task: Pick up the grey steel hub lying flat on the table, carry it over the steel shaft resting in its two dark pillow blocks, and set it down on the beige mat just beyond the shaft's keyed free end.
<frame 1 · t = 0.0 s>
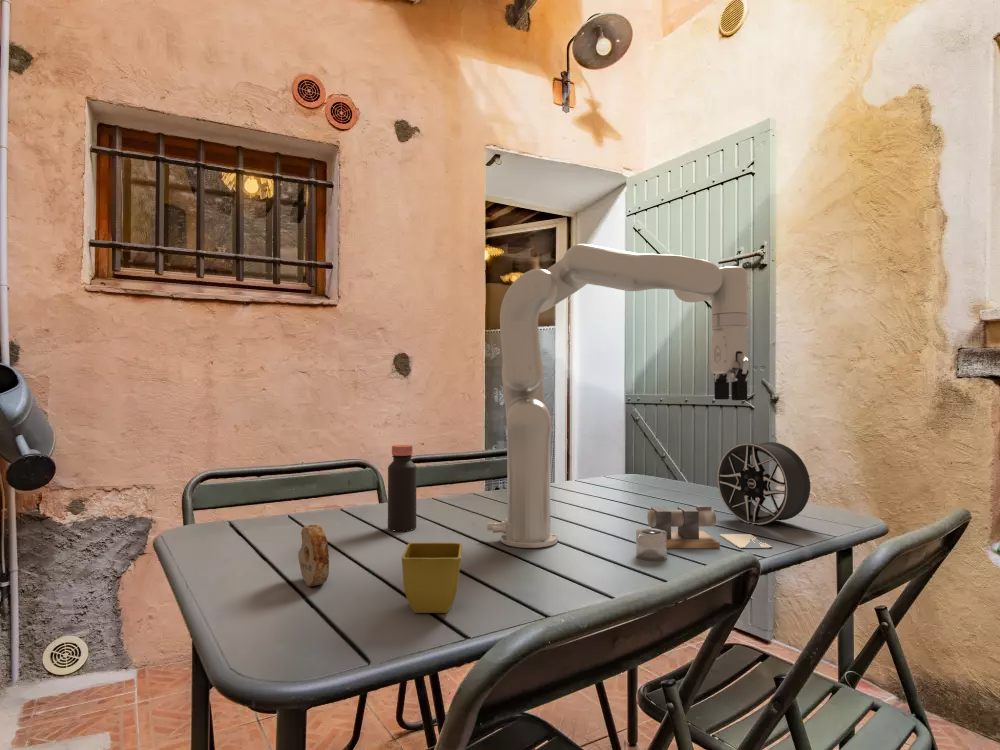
hand: (730, 399, 131), 31 cm above the table, tool pointing down, fingers open, 9 cm apart
wheel rim: (762, 522, 148), on the table
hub: (651, 556, 118), on the table
bottle: (402, 529, 142), on the table
stone disc: (314, 583, 103), on the table
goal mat: (744, 541, 129), on the table
shaft stand: (679, 541, 129), on the table
flower pot: (433, 609, 91), on the table
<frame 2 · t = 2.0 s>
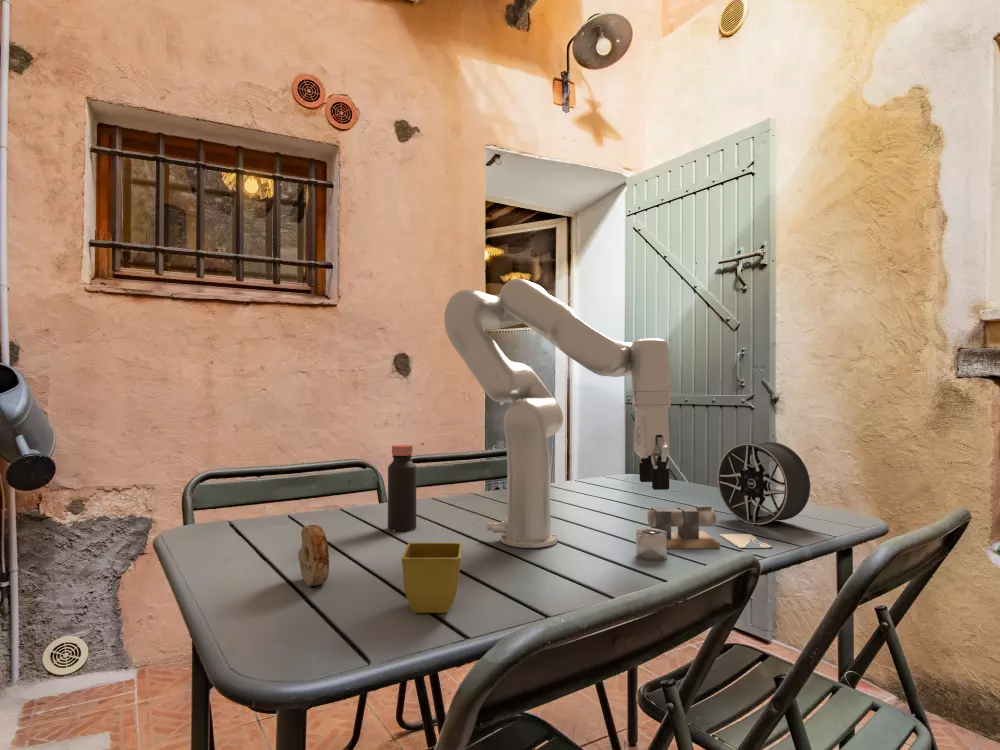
hand: (654, 485, 118), 14 cm above the table, tool pointing down, fingers open, 9 cm apart
nothing on the table moved.
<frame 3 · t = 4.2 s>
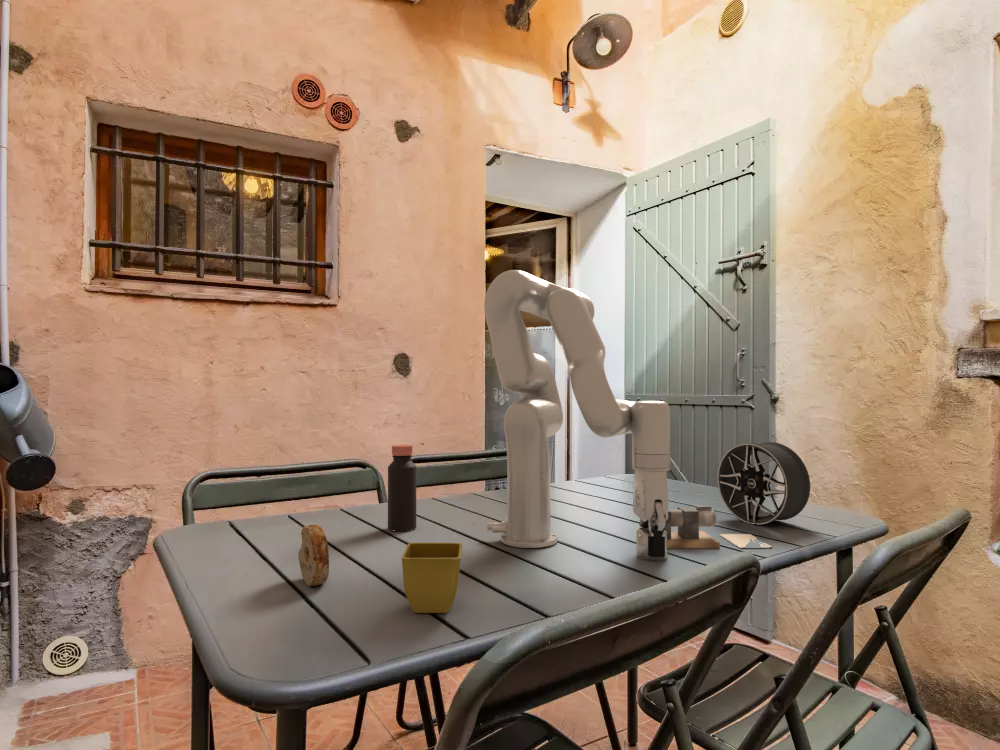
hand: (651, 550, 118), 1 cm above the table, tool pointing down, fingers closed on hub, 6 cm apart
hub: (651, 556, 118), on the table, touching gripper
everything else where it was.
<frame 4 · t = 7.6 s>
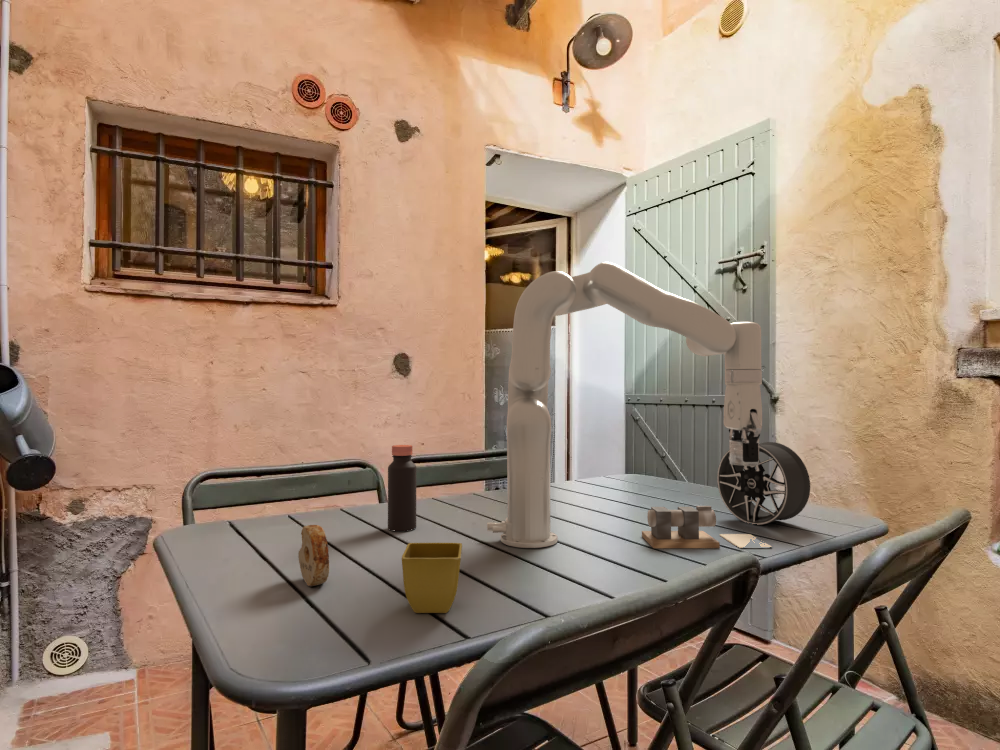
hand: (744, 459, 129), 18 cm above the table, tool pointing down, fingers closed on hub, 6 cm apart
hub: (744, 464, 129), point 17 cm above the table, touching gripper
everything else where it was.
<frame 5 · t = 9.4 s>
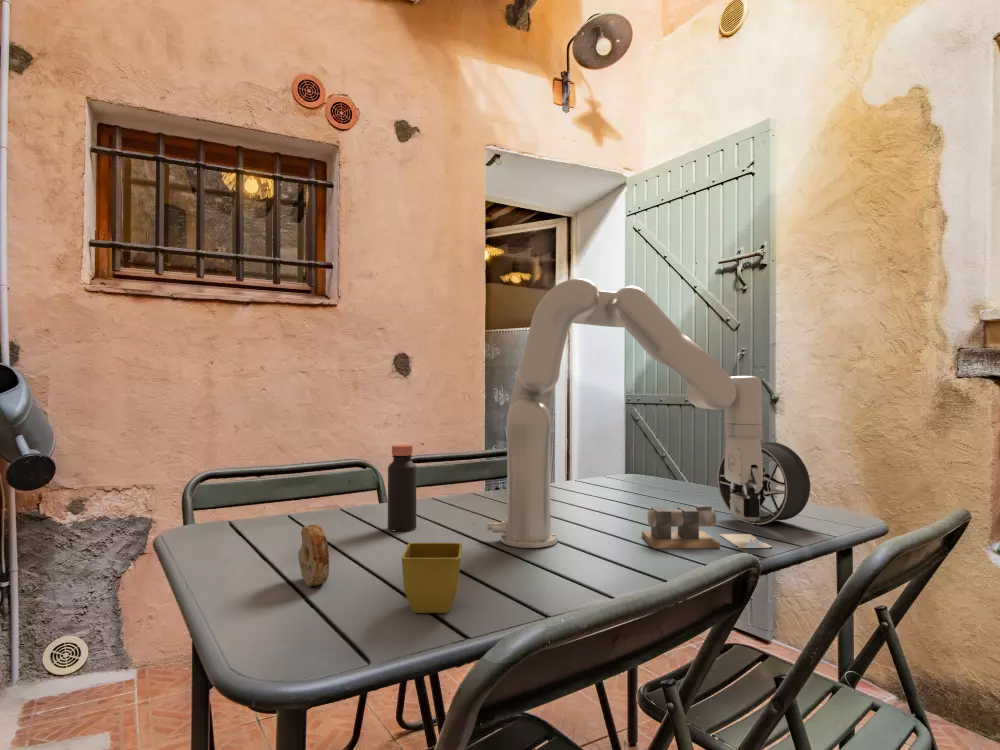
hand: (744, 512, 129), 6 cm above the table, tool pointing down, fingers closed on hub, 6 cm apart
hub: (745, 517, 129), point 5 cm above the table, touching gripper
everything else where it was.
when the fingers open (3 cm above the table, at t = 11.1 s): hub drops 1 cm, resting on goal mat.
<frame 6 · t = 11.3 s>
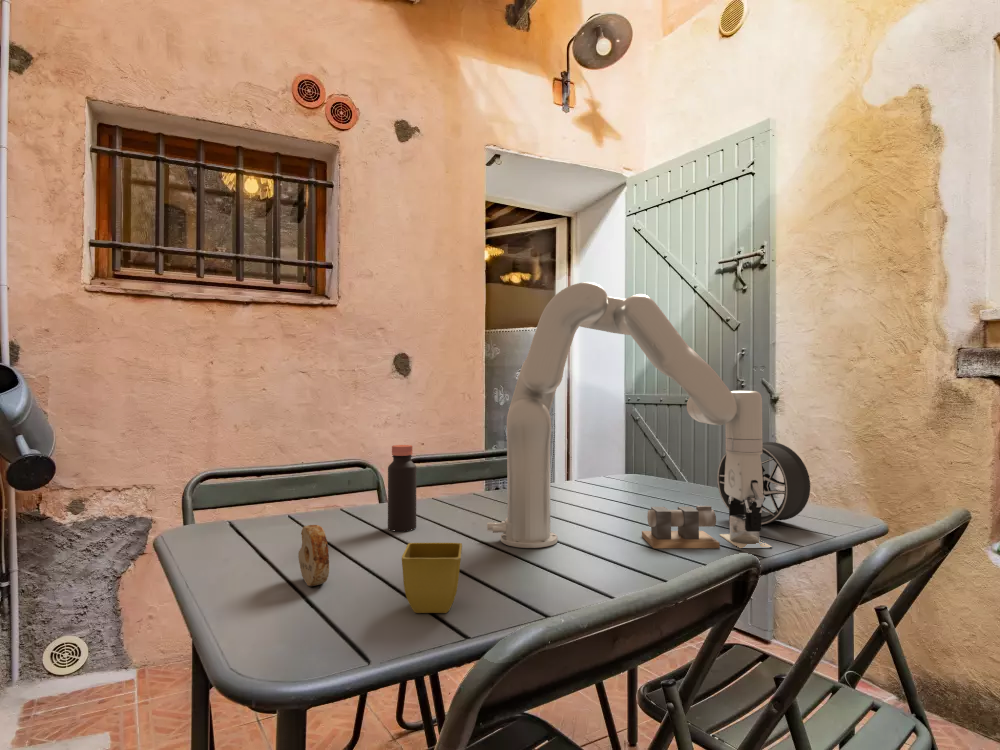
hand: (744, 525, 129), 3 cm above the table, tool pointing down, fingers open, 8 cm apart
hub: (744, 540, 129), resting on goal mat
everything else where it was.
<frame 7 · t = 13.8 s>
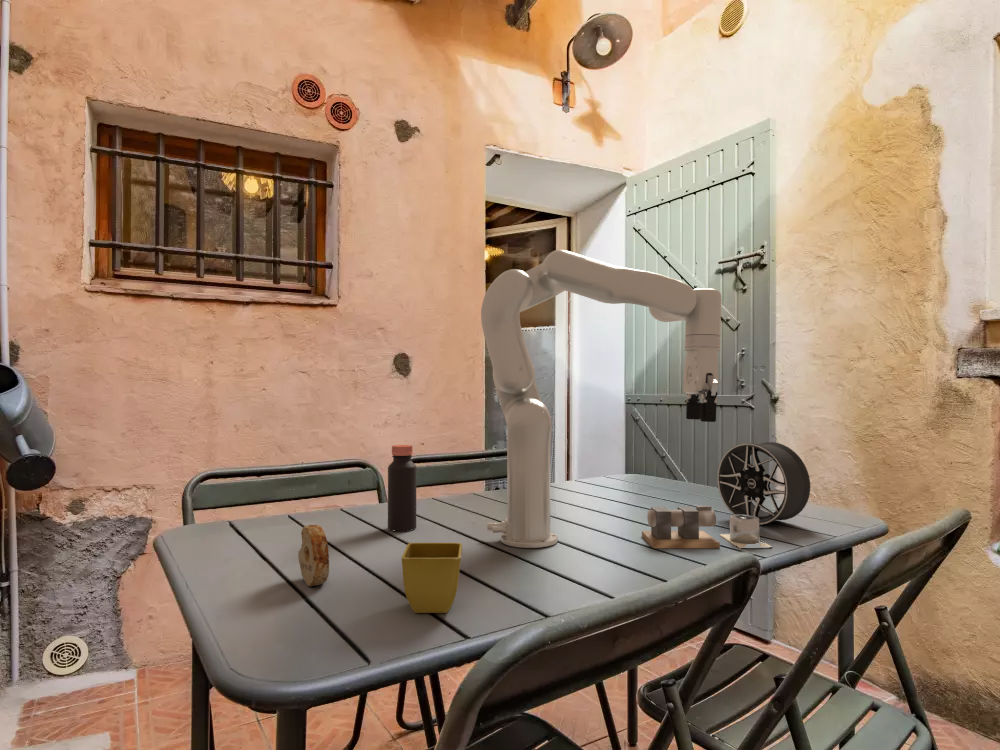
hand: (700, 420, 131), 27 cm above the table, tool pointing down, fingers open, 9 cm apart
nothing on the table moved.
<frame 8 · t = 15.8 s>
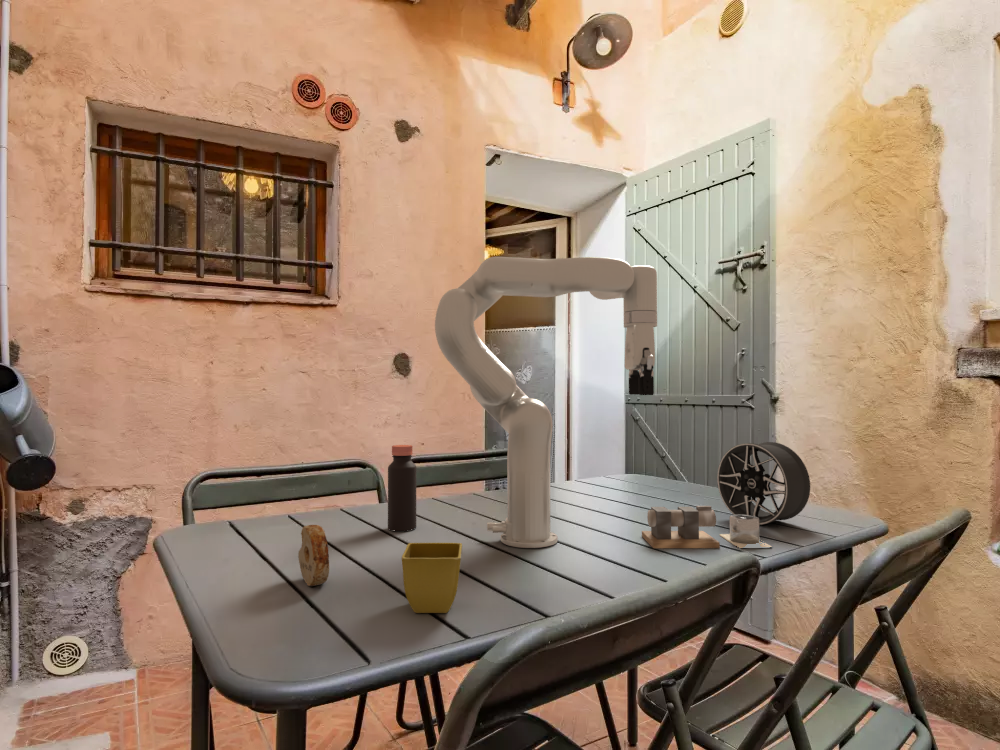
hand: (640, 394, 135), 32 cm above the table, tool pointing down, fingers open, 9 cm apart
nothing on the table moved.
at the end: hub inside the target area (0.1 cm from its centre), resting on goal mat; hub tilted 0°; the gripper is holding nothing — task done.
